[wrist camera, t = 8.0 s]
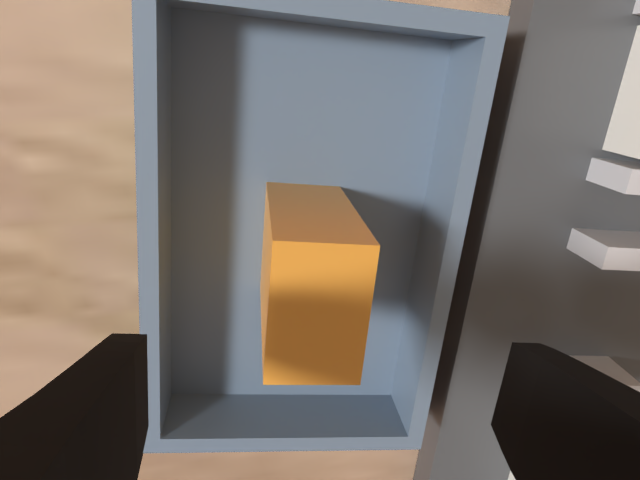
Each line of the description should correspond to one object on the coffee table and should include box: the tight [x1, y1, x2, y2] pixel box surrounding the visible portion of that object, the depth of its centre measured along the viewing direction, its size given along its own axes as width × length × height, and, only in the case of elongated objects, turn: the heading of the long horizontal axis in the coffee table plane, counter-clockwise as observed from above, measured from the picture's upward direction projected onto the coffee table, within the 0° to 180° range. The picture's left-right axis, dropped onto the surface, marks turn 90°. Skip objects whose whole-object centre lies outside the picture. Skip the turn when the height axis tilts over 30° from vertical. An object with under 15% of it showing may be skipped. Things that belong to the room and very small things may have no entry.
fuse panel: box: [413, 0, 640, 480], centre depth 19 cm, size 24×10×4 cm, turn 174°
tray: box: [132, 0, 510, 453], centre depth 17 cm, size 15×10×3 cm
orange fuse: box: [260, 182, 380, 385], centre depth 15 cm, size 4×3×6 cm, turn 175°
